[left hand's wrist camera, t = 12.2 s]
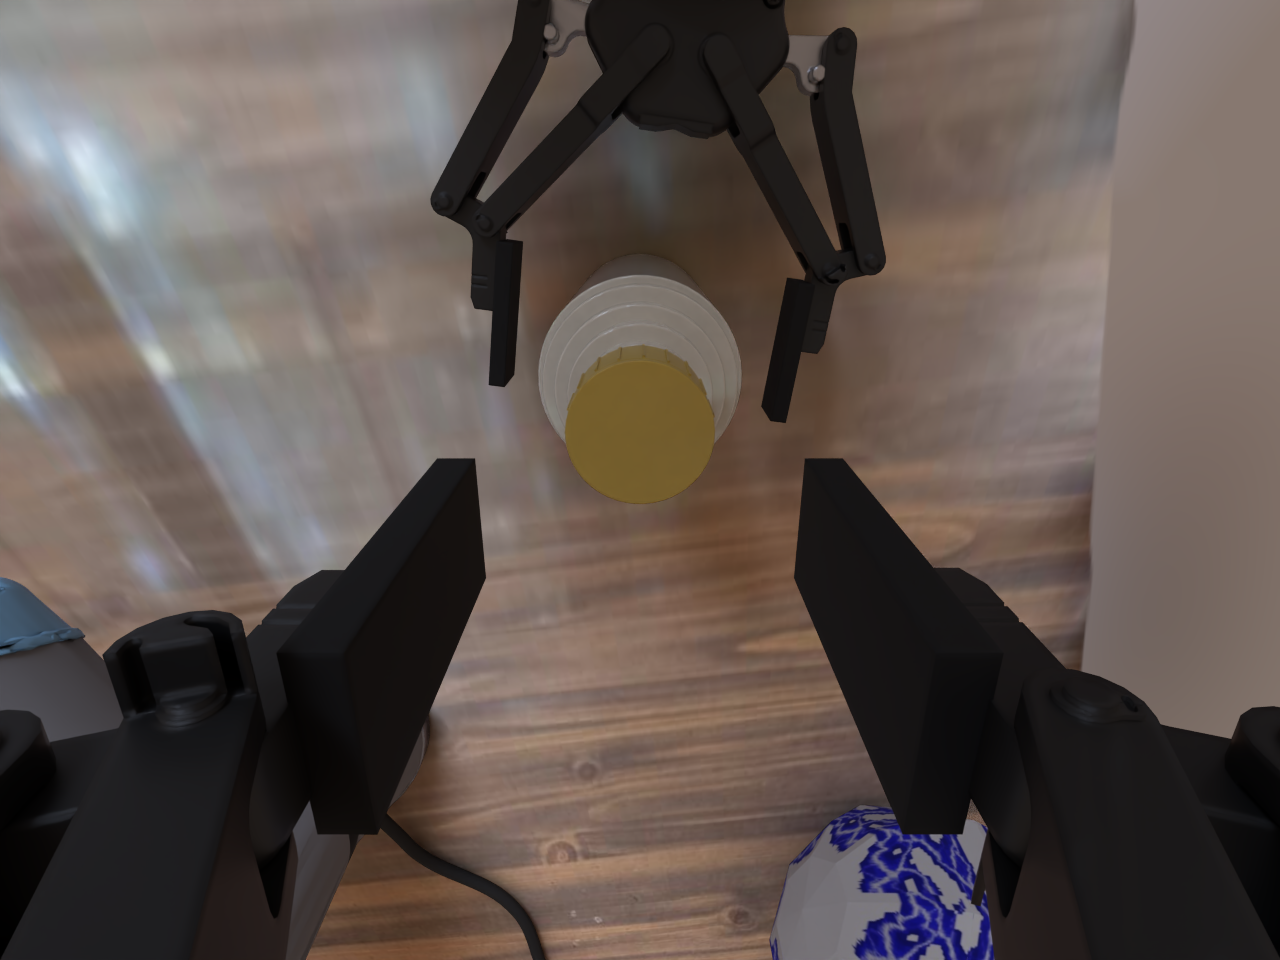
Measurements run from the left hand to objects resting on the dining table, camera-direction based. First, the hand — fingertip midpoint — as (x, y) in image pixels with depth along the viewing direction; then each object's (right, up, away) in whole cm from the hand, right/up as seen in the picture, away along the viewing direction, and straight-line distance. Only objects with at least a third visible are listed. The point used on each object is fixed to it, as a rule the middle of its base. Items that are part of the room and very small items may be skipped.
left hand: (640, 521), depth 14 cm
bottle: (0, +10, +25) cm, 27 cm away
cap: (0, +2, +6) cm, 6 cm away
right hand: (0, +5, +20) cm, 21 cm away
